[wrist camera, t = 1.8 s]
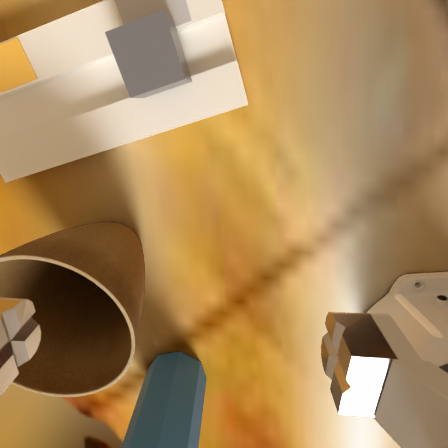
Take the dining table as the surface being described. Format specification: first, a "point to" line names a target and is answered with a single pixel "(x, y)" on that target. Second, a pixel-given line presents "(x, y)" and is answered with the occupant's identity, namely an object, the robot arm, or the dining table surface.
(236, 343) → the dining table surface
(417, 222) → the dining table surface
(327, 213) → the dining table surface
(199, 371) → the water bottle
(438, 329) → the robot arm
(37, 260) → the plant pot
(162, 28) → the switch knob
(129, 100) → the switch plate
